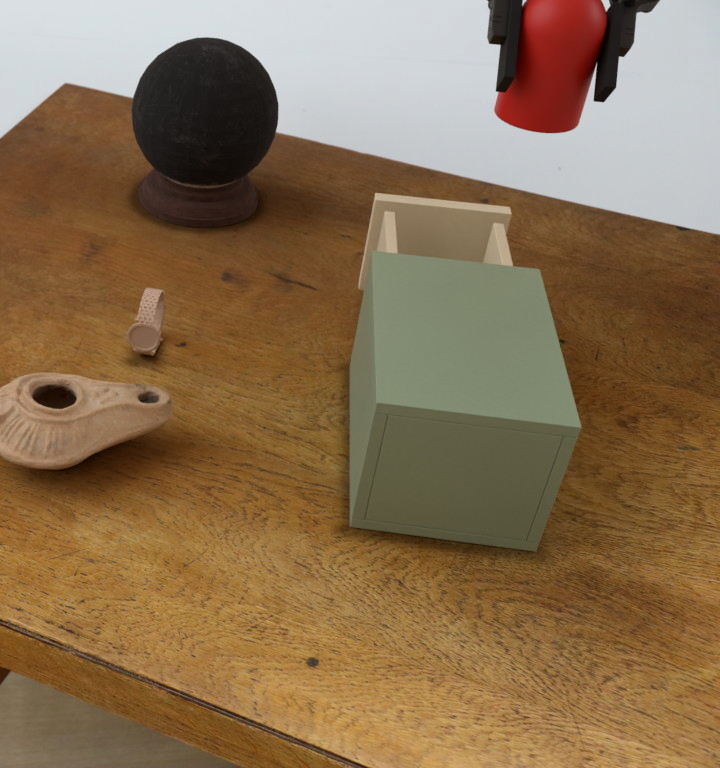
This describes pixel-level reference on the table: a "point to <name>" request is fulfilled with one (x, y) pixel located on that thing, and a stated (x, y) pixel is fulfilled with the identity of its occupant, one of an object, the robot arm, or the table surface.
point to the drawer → (437, 230)
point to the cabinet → (457, 402)
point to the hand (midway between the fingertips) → (554, 89)
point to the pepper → (553, 64)
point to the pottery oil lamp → (74, 417)
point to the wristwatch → (148, 322)
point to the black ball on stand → (203, 131)
